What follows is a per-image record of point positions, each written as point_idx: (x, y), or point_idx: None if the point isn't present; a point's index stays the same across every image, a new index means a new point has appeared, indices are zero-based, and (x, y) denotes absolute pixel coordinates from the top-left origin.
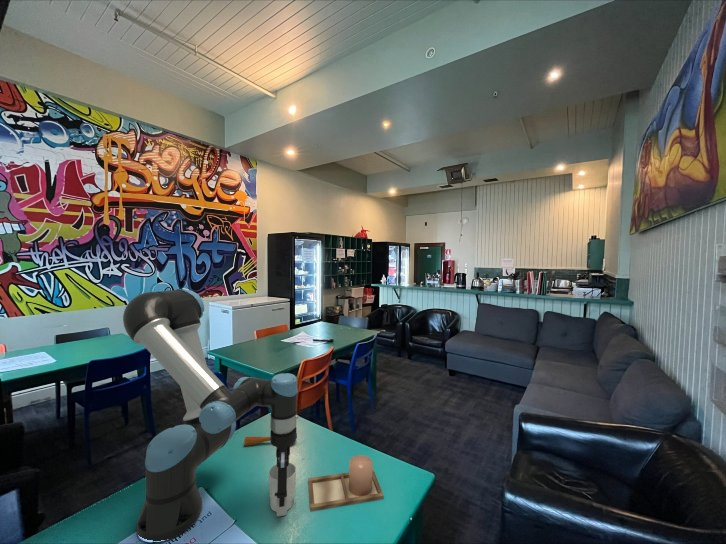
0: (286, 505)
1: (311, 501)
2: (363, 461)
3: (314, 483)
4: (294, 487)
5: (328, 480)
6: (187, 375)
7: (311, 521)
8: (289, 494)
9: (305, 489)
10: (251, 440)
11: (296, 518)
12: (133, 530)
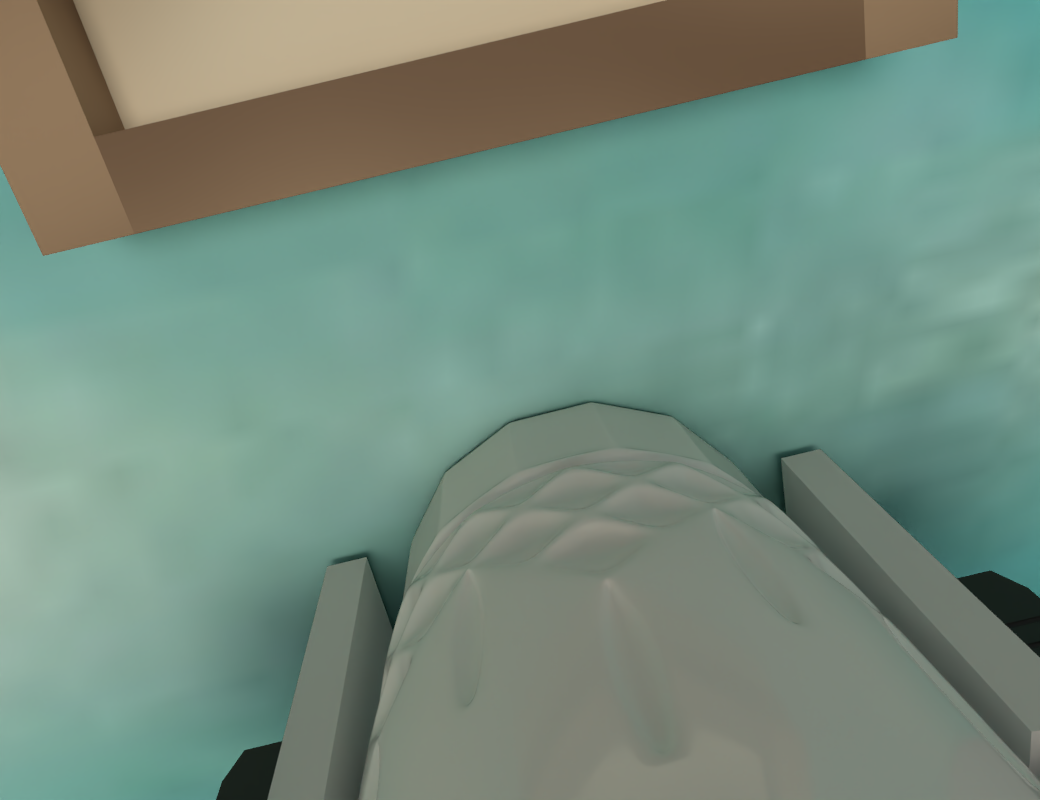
0: (899, 530)
1: (781, 42)
2: None
3: (122, 70)
4: (725, 548)
5: None
6: None
7: (994, 3)
8: (844, 583)
9: (248, 258)
10: None
11: (884, 284)
12: None
